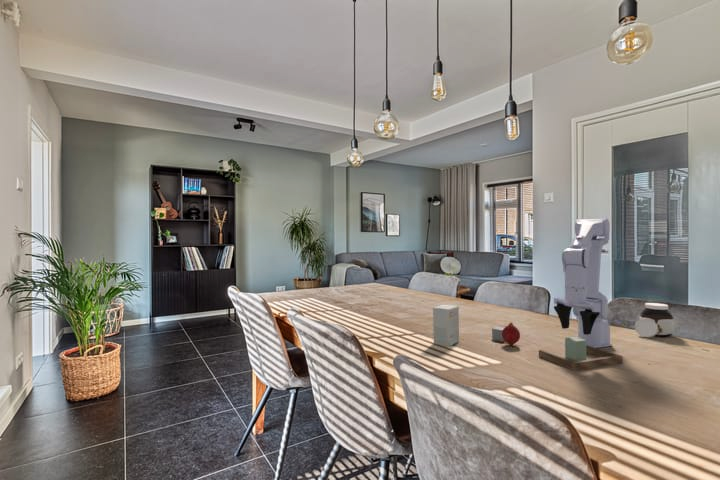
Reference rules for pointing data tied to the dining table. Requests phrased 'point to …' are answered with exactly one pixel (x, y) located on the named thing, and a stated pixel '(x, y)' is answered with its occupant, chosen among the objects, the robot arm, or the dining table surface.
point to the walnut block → (604, 359)
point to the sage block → (575, 348)
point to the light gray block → (497, 333)
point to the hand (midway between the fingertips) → (575, 331)
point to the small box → (446, 324)
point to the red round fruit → (511, 334)
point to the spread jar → (655, 321)
